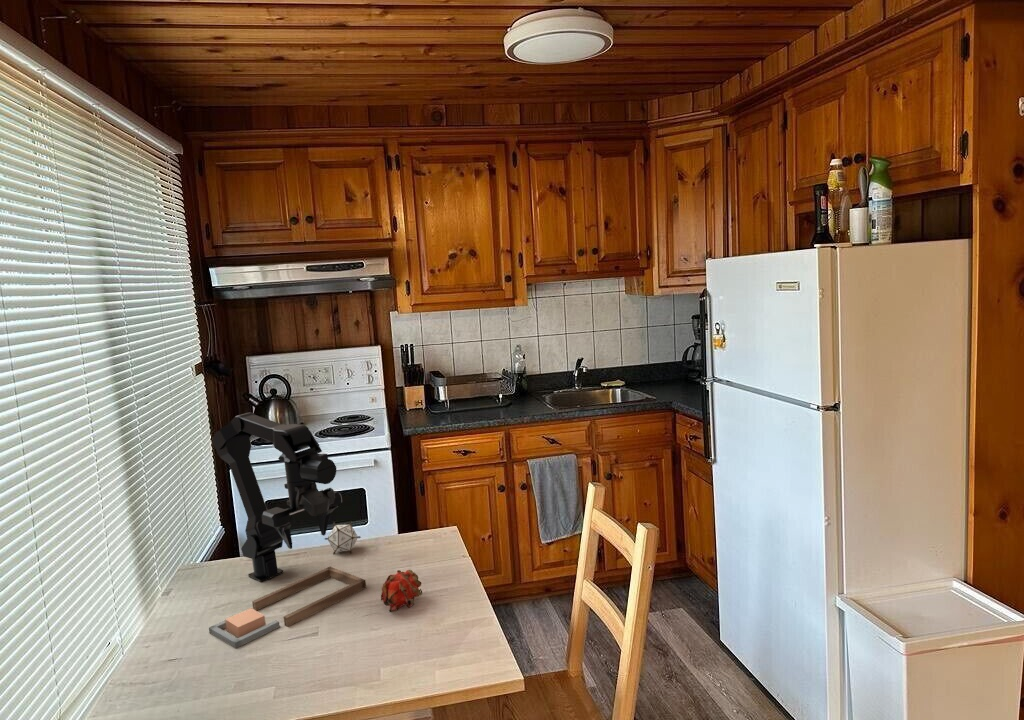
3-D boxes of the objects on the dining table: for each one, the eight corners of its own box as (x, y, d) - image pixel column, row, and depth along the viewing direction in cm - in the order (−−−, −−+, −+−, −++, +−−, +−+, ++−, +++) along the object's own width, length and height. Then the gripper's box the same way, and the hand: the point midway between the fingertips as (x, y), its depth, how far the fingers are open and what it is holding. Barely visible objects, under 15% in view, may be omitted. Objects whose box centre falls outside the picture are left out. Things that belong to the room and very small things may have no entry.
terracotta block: (227, 632, 156) (225, 619, 155) (252, 620, 160) (251, 608, 160) (239, 640, 152) (237, 627, 151) (266, 628, 156) (264, 615, 155)
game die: (352, 562, 196) (370, 529, 197) (341, 564, 188) (360, 530, 189) (325, 545, 198) (344, 513, 199) (313, 546, 190) (333, 513, 191)
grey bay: (209, 632, 155) (208, 627, 155) (252, 612, 163) (251, 607, 163) (235, 648, 148) (235, 642, 148) (279, 626, 155) (279, 621, 155)
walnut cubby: (253, 609, 165) (252, 601, 164) (330, 573, 181) (330, 566, 180) (287, 626, 155) (286, 618, 155) (366, 587, 171) (365, 579, 171)
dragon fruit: (421, 599, 167) (394, 631, 156) (392, 576, 168) (363, 607, 158) (435, 575, 163) (407, 607, 152) (405, 553, 164) (376, 583, 154)
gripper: (283, 496, 157) (291, 563, 159) (352, 472, 171) (359, 534, 173) (256, 488, 164) (265, 552, 166) (324, 466, 178) (332, 526, 180)
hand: (307, 541), depth 171 cm, fingers open, 9 cm apart
